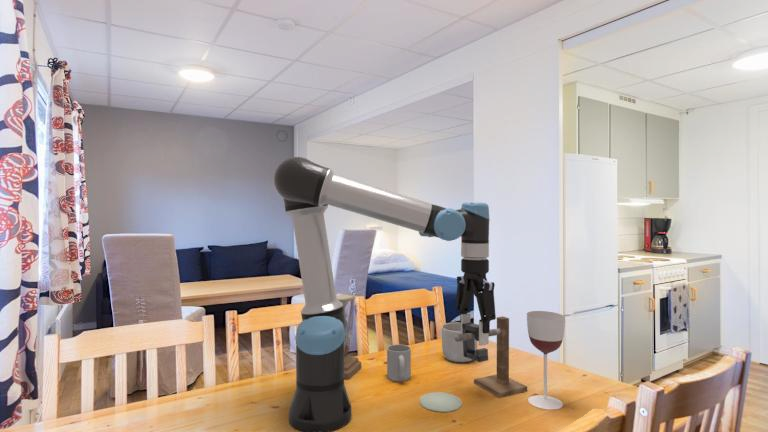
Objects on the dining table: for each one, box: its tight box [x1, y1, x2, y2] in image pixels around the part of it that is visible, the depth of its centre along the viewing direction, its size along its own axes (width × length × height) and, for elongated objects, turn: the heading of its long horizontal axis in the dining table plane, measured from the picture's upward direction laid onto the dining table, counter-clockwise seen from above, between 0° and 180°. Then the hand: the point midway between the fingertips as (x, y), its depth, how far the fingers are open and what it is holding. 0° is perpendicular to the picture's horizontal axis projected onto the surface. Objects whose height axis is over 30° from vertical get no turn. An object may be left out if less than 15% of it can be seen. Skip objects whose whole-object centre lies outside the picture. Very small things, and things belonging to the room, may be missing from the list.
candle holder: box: [336, 292, 362, 380], centre depth 137 cm, size 11×11×24 cm
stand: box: [455, 316, 528, 399], centre depth 123 cm, size 20×11×20 cm, turn 116°
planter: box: [440, 321, 478, 363], centre depth 149 cm, size 12×12×11 cm
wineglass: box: [526, 310, 566, 410], centre depth 115 cm, size 9×10×23 cm
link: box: [462, 322, 489, 363], centre depth 121 cm, size 3×7×9 cm, turn 26°
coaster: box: [419, 391, 463, 413], centre depth 115 cm, size 11×11×1 cm
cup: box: [386, 344, 412, 383], centre depth 131 cm, size 7×10×9 cm
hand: (474, 340), depth 121 cm, fingers closed on link, 7 cm apart
